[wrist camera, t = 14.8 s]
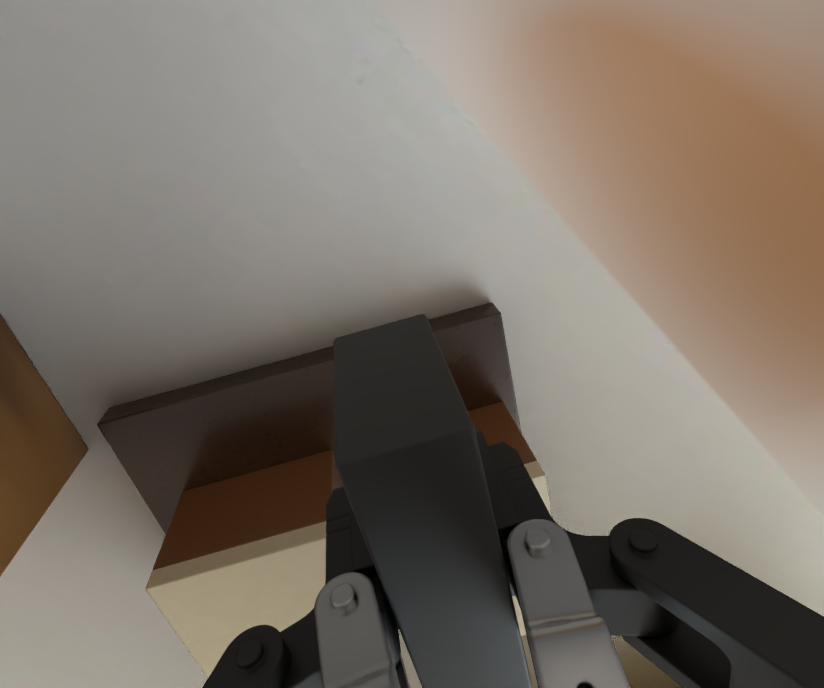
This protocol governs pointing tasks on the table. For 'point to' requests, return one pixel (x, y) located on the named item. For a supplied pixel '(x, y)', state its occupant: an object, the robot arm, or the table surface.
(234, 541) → the cream-faced brown block
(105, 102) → the table surface
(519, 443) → the slice
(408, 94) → the table surface
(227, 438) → the board
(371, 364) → the knife
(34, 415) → the stand
